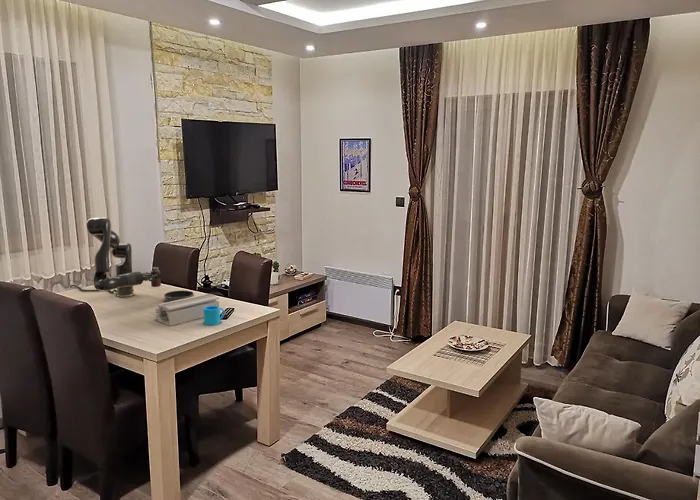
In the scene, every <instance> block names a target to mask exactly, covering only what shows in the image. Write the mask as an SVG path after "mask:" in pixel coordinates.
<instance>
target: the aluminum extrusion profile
mask: <svg viewBox="0 0 700 500" xmlns="http://www.w3.org/2000/svg"><path fill="white" fill-rule="evenodd" d="M219 299H220V297H219V296H216V295H215V294H212V293H203V294H199V295H194V297H189V298H185V299H180V300H176V301H171V302H161V303H158V304H157V307H155V308H154V310H155V313H156V315H155V320H156V321H158V322H160V323H162V324H164V325H166V326H169V327H170V326H174V325H178V324H182V323H186V322H190V321H195V320H198V319H201V318H204V307H207V306H219V307H220V301H219Z"/></svg>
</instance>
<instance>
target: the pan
mask: <svg viewBox="0 0 700 500" xmlns="http://www.w3.org/2000/svg"><path fill="white" fill-rule="evenodd" d="M194 296H195V293H194V291H191V290H173V291H169V292H166V293H164V294H163V301H164V303H166V302H171V301H176V300H180V299H185V298H189V297H194Z"/></svg>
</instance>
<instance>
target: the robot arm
mask: <svg viewBox="0 0 700 500" xmlns="http://www.w3.org/2000/svg"><path fill="white" fill-rule="evenodd" d="M86 230H87V232H88V233H89V234H90V235H91V236H92V237H94V238H96V239H97V240H98V241H100V243H101V244H100V246H99V248H98V250H97V251H96V253H95V255H94V275H93V286H94V289H82V287H81V286H78V285H76V284H70V286H69V288H72V287H75V288H76V289H79V290H80V291H82V292H109V293H110V294H113V293H115V296H117V297H118V298H127V297H132V296H134V291H135V289H134V286H139V285H140V286H141V285H142V284H143V283H144V282H151V281H153V280H157V279H158V278H160V279H162V278H164V274H163V273H160V274H155V275H153V274H151V272H148V271H146V272H141V271H134V272H133V248H132V245H131V243H129V242H128V243H127V242H121V239H120V236H119V235H118V234H117V233H116V232H115V231H114V230H112V224H111V220H110V219H109V218H108V217H92V218H89V219H87V221H86ZM110 254H111V255H112V256H113V258H115V259H124V261H122V262H119V263H117V264H115V275H114V276H109V277H107V276H108V273H109V272H110Z"/></svg>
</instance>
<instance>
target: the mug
mask: <svg viewBox="0 0 700 500" xmlns="http://www.w3.org/2000/svg"><path fill="white" fill-rule="evenodd" d="M221 311H222V314H221ZM225 313H226V312H225V309H224V308H222V307H220V305H219V306H207V307H204V317H203V324H204V325H206V326H215V325H219V324H220V323H221V320H222V319H223V318H224V316H225Z"/></svg>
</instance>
